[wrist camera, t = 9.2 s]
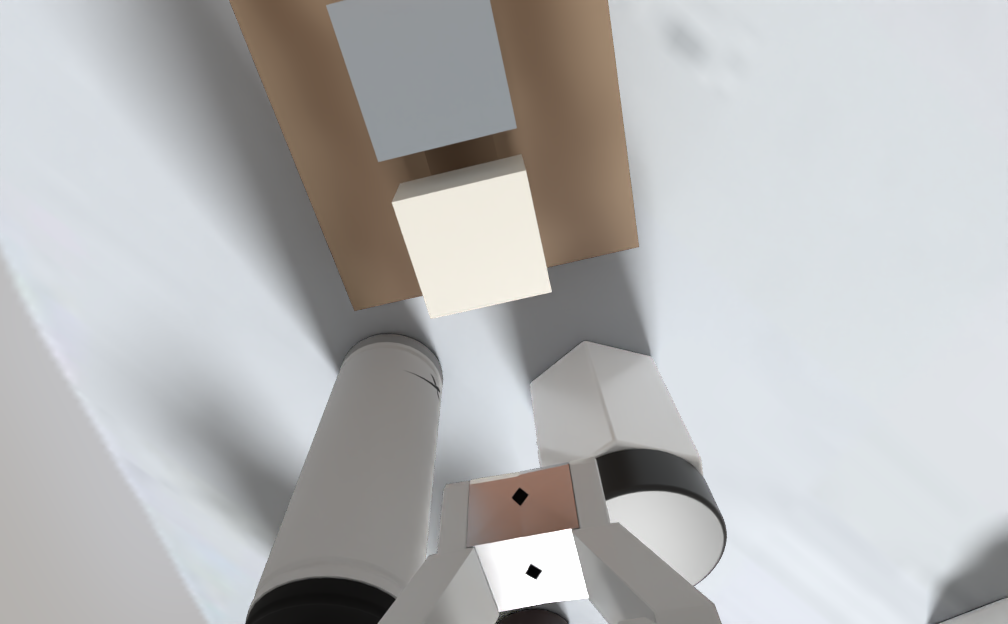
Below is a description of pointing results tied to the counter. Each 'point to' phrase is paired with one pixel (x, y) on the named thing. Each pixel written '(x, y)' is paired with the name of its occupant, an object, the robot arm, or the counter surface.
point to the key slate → (424, 71)
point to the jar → (631, 451)
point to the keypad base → (538, 137)
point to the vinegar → (533, 617)
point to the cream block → (473, 236)
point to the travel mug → (359, 493)
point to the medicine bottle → (984, 614)
